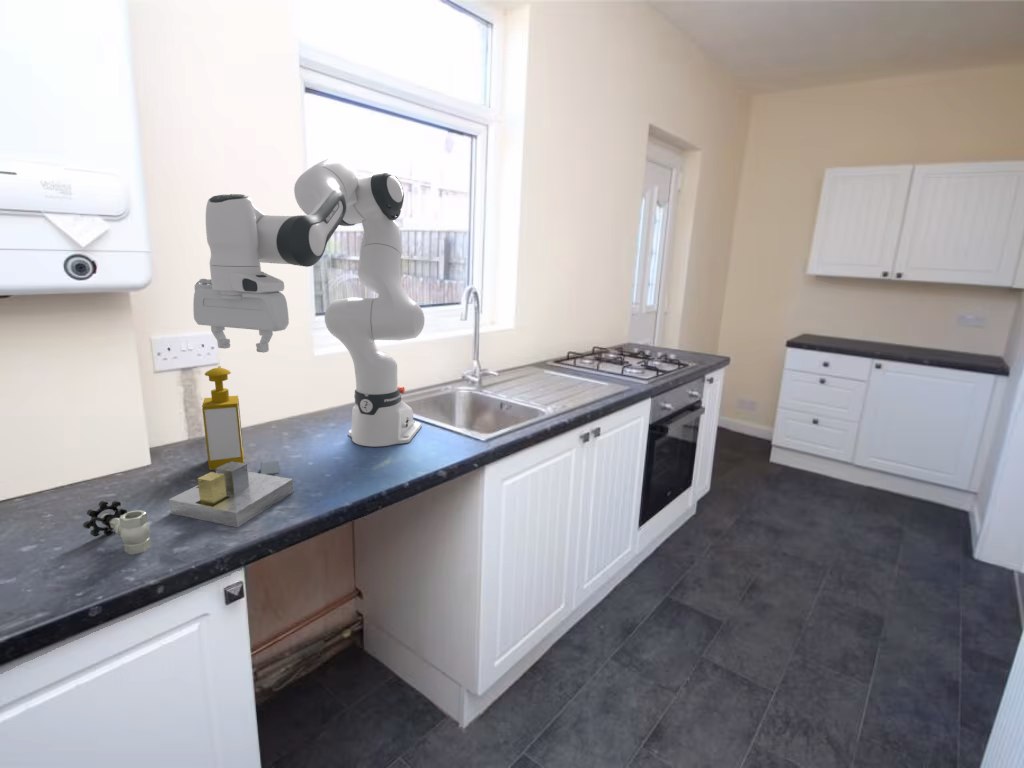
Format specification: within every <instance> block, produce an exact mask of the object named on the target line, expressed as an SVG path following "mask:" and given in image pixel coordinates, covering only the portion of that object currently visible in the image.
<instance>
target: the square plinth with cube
mask: <svg viewBox="0 0 1024 768" xmlns="http://www.w3.org/2000/svg"><path fill="white" fill-rule="evenodd" d="M248 470H249V469H248V464H247V463H238V462H232V461H230V462H228V463H226V464H224V465H222V466H220V467H218V468H216V469H215V473H219V474H224V477H225V487H226V496H227V499H226V500H224V501H223V502H221V503H219V504H217V505H215V506H214V507H212V506H207V505H202V504H200V495H199V487H198V484H197V485H195V486H194V487H192V488H189V489H187V490H185V491H183V492H181V493H179V494H177V495H175V496H172V497H171V498H169V499H168V505H169V511H170V512H169V513H170V514H171V515H176V516H182V517H186V518H190V519H196V520H201V521H206V522H211V523H215V524H220V525H224V526H230V527H235V528H239V527H240V526H242V525H244V524H245V523H247V522H248V521H249V520H251V519H253V518H255V517H256V516H258V515H259V514H261V513H263V512H264V511H266V510H267V509H269V508H270V507H272V506H273V505H275V504H277V503H279V502H280V501H282V500H284V499H285V498H287V497H288V496H289V495H291V494H293V493H294V480H293V478H288V477H282V476H280V477H277V476H272V475H266V474H261V472H260V473H259V472H254V471H248Z"/></svg>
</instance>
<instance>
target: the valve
mask: <svg viewBox="0 0 1024 768" xmlns="http://www.w3.org/2000/svg"><path fill="white" fill-rule="evenodd" d="M121 503H122V502H120V501H118V500H113V501H112V502H111V504H110V505H109V502H108V501H106V500H100V501H99V503H98V507H99V508H97V509H96V510H95V509H92V508H90V509H88V510H87V511H86V515H87V516H88V517H90V520H87V521H85V522H83V525H82V526H83V528H85V529H87V530H88V529H91V528H92V529H91V530H90V532H89V533H90V535H91V536H92V537H94V538H95V537H99V536H100V532H103V534H104V535H106V536H108V537H109V536H111V535H113V533H115V534H116V535H118V536H120V539H121V540H122V542H123V550H124V552H125V554H128V555H130V556H131V555H136V554H141V553H145V552H146V551H148V549H150V548H151V547H152V540H151V537H150V534H151V527H150V524H149V523H148V515H147V512H146V511H144V510H141V509H139V510H137V509H136V510H132V511H131V510H130V511H128V510H127V509H125V508H118V507H121V506H122V504H121ZM107 510H112V511H113V512H114V514H112V513H103V514H102V515H101V516H100V517H99V515H100V514H101V513H102V512H105V511H107ZM97 522H100V523H101V524H102V525H105V526H98V525H97Z"/></svg>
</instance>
